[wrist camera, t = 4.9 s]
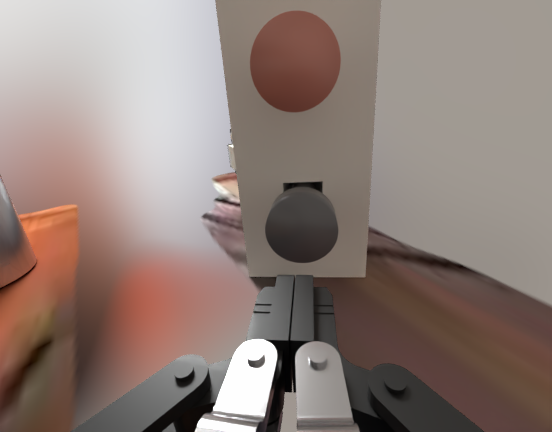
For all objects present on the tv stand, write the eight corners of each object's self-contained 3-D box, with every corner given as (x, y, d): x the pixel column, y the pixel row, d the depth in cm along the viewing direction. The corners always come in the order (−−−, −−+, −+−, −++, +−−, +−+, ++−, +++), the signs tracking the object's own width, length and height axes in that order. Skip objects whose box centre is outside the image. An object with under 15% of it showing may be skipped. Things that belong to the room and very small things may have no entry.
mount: (249, 276, 26) (215, -2, 18) (261, 241, 32) (239, 22, 24) (365, 277, 25) (382, -22, 17) (354, 240, 31) (362, 9, 23)
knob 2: (268, 263, 19) (261, 198, 17) (279, 215, 26) (276, 166, 24) (337, 263, 18) (338, 196, 17) (330, 214, 26) (329, 164, 24)
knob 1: (254, 115, 15) (245, 15, 14) (272, 107, 23) (267, 42, 21) (339, 109, 15) (341, 5, 13) (330, 104, 22) (330, 36, 20)
